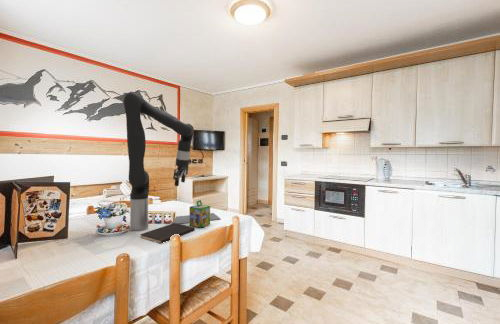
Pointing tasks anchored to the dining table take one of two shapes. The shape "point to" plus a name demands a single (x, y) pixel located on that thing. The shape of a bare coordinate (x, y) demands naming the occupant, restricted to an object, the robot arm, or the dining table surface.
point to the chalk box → (199, 215)
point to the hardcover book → (167, 232)
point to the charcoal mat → (187, 219)
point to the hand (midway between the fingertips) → (179, 184)
